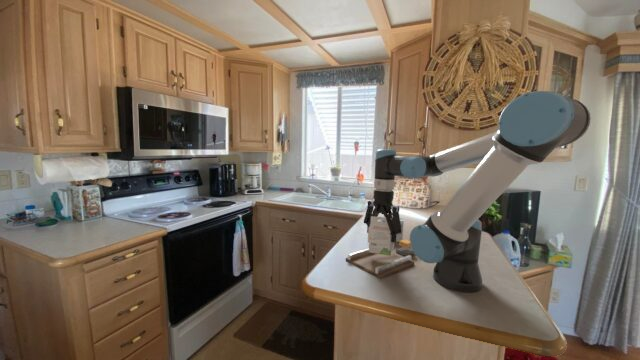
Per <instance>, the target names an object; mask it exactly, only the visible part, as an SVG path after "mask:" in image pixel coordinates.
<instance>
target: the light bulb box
mask: <svg viewBox="0 0 640 360" xmlns="http://www.w3.org/2000/svg"><path fill="white" fill-rule="evenodd" d="M385 218H386V217H385ZM379 222H385V221H384V220H382V219H380V220H379ZM400 224H401V230H402V232H401V233H399V234H397V235H396V242H395V243H399V241H401V240H404V239H403V236H404V219H402V217H400ZM393 231H394V230H393Z"/></svg>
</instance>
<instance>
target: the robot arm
mask: <svg viewBox="0 0 640 360" xmlns="http://www.w3.org/2000/svg"><path fill="white" fill-rule="evenodd" d="M591 119H592V118H591V113H590V111H589V109H588V108H587V106H586V105H585V104H583V102H581V101H580V100H577V99H575V98H571V97H567V96H565V95H563V94H562V93H558V92H555V91H549V90H548V91H547V90H546V91H545V90H535V91H530V92H526V93H523V94H521V95H519V96H517V97H516V98H514V99H512V100H511V101H510V102H509V103H508V104H507V105H506V106H505V107H504V108H503V110H502V111H501V114H500V116H499V117H498V129H497V130H496V131H495V132H492V133H488V134H487V135H484V136H480V137H477V138H474V139H473V140H470V141H467V142H464V143H460V144H459V145H455V146H452V147H449V148H447V149H443V150H440V151H438V152H436V153H433V154H430V155H422V156H421V155H397V151H396V150H395V149H377V150H376V152H375V159H374V163H375V164H374V183H373V188H374V190H373V196H372V198H373V200H368V201H367V206H366V207H367V208H366V211H365V215H364V219H363V223H364V224H365V225H366V226H367V228H366V231H367V232H366V233H367V243H369V233H370V223H371V216H374V217H379V215H383V217H386V220H387V223H388V226H389V229H390V232H391V233H390V234H389V240H388V251H391V252H392V251H393V250H394V249H395V243H397V242H396V235H397V234H399V233H401V232H402V230H401V224H400V218H401V217H400V206H395V205H393V200H394V195H395V193H394V192H395V191H394V189H395V180H396V177H401V178H407V179H410V180H411V179H414V180H415V179H420V178H422V177H423V178H424V177H437V176H438V177H439V176H442V175H443V174H444V173H447V172H451V171H455V170H458V169H462V168H465V167H469V166H473V165H475V164H478V165H477V166H476V167H475V169H474V170H473V171H472V173H470V175H469V176H468V177H467V179H466V180H465V181H463V183H462V185H461V186H460V187H459V188H458V190H457V191H456V192H455V193H454V195H452V197H451V198H450V200H449V201H448V202H447V203H446V204H445V206H444V207H443V208H442V209H441V210H438V211H433V212H432V213H431V215H429V217H428V218H427V219H426V221H425V222H424V223H423V224H419V225H416V226H414V227H413V228H412V230H411V231H410V232H409V233H410V234H409V241H410V242H411V247H410V248H411V249H412V250H413V251H414V253H415V254H414V255H415V256H416V257H417V258H418V259H419V260H421V261H422V262H424V263H427V264H435V266H434V268H433V272H432V278H433V279H434V280H435V282H437V283H438V284H440V285H442V286H443V287H445V288H448V289H450V290H454V291H458V292H463V293H464V292H465V293H474V292H479V291H481V290H482V288H483V278H482V273H481V270H480V265H479V258H480V257H479V256H480V251H481V250H480V248H481V240H482V233H483V230H482V225H483V223H482V221H481V220H480V219H479V218H481V216H483V214H485V212H486V211H487V210H488V209H489V208H490V207H491V206H492V205H493V204H494V203H495V202H496V200H497V199H498V198H499V197H500V196H501V195H502V194H503V193H504V192H505V191H506V189H508V187H510V186H511V184H512V183H514V182H515V180H516V179H518V177H519V176H520V175H521V174H522V173H523V172H524V170H526V168H527V167H529V166H530V165H536V164H542V162H544V160H545V159H547V157H548V156H549V155H550V154H551V153H552V152H553V151H554V150H555V149H556V148H560V147H564V146H565V147H566V146H568V145H571V144H572V143H574V142H576V141H578V140H579V139H580V138H582V137H583V136H584V135H585V134H586V133H587V131H588V130H589V127H590V124H591ZM391 218H392V220H391ZM393 230H394V231H393Z"/></svg>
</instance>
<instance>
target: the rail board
mask: <svg viewBox="0 0 640 360" xmlns="http://www.w3.org/2000/svg"><path fill="white" fill-rule="evenodd" d="M402 257H403V256H400V255H398V254H395V253H392V252H391V255H390V256H389V255H383V254H376V253H371V254H368V255H365V256H362V257H359V258H356V259H352V260H349V259H348V256H347V257H345V261H347V262H348V263H350V264H352V265H354V266H356V267H358V268H360V269H362V270H364V271H366V272H368V273H370V274H372V275H373V276H375V277H377V278H378V279H383V278H385V277H388V276H390V275H392V274H395V273H398V272H400V271H402V270H405V269H407V268H410V267H411V266H414V265H415V261H412V260H411V261H410V262H407V263H405V264H402V265H400V266H397V267H395V268H392V269H390V270H387V271H385V272H382V273H380V274H376V273H375V268H376V267H378V266H381V265H384V264H386V263H389V262H392V261H394V260H397V259H400V258H402Z"/></svg>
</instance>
